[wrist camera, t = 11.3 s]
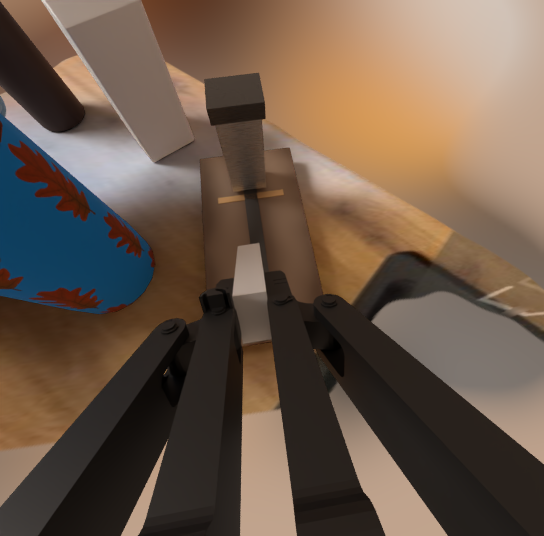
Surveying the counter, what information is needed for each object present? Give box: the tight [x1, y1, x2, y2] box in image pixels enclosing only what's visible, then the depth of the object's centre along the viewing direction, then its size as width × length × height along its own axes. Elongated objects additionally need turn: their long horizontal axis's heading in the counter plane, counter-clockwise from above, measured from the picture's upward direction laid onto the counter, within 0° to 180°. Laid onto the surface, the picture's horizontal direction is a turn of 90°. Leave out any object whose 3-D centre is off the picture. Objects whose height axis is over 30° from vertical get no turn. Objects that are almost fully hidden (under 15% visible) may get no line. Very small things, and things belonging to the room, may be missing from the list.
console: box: [200, 148, 323, 347], centre depth 28 cm, size 12×24×3 cm, turn 8°
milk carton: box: [42, 0, 195, 162], centre depth 26 cm, size 7×7×19 cm
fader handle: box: [204, 73, 266, 192], centre depth 24 cm, size 5×4×10 cm
